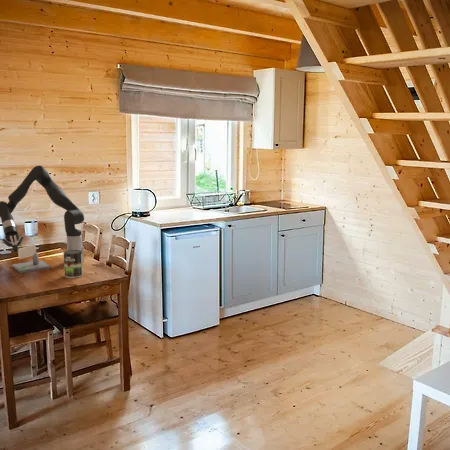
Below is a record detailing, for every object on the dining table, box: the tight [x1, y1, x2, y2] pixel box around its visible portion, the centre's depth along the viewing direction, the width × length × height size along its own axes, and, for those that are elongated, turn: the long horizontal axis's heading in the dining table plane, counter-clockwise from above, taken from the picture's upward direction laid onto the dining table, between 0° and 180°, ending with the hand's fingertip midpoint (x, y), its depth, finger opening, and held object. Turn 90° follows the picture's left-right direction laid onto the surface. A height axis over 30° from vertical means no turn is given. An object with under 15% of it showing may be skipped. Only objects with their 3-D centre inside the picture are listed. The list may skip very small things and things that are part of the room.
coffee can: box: [63, 250, 84, 279], centre depth 292 cm, size 10×10×14 cm
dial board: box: [11, 259, 52, 274], centre depth 311 cm, size 18×18×2 cm
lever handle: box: [17, 244, 39, 264], centre depth 308 cm, size 14×3×12 cm, turn 153°
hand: (16, 251), depth 314 cm, fingers closed
